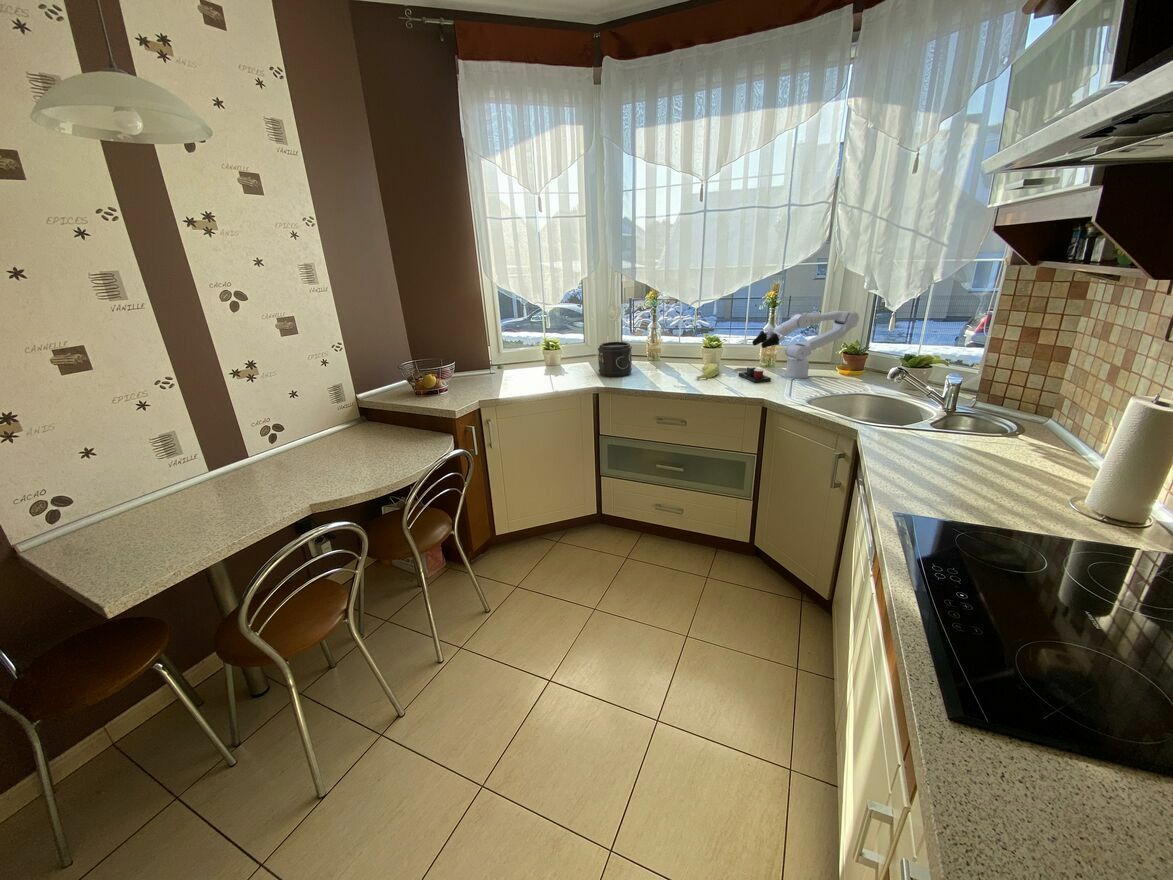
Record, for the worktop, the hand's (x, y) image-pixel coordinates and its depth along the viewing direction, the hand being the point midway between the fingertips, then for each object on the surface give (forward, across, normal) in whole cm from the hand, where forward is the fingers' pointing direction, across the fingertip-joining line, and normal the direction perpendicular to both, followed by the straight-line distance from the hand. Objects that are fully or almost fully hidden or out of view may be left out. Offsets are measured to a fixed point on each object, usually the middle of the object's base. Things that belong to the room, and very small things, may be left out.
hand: (757, 344), depth 220 cm
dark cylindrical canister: (+59, -42, -8) cm, 73 cm away
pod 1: (+6, -6, +16) cm, 18 cm away
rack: (+6, -3, +16) cm, 18 cm away
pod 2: (+6, 0, +16) cm, 17 cm away
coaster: (+2, -22, +18) cm, 28 cm away
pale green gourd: (+22, -20, +9) cm, 31 cm away
